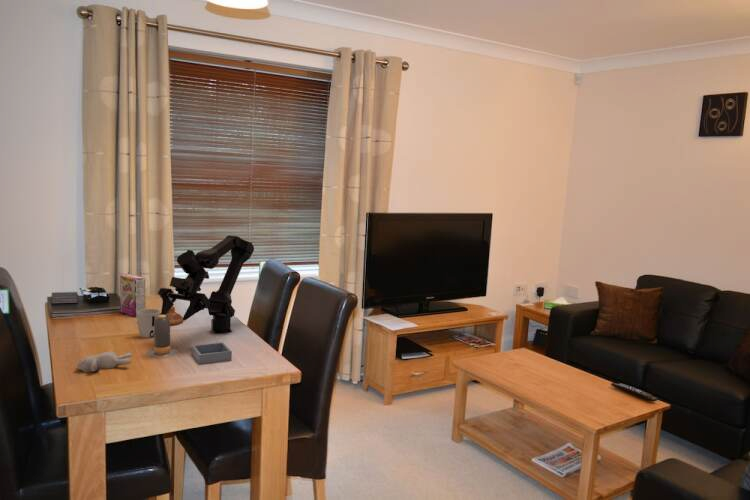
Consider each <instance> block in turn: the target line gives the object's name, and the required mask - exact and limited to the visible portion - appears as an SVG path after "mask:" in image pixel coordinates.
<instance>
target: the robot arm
mask: <svg viewBox="0 0 750 500" xmlns="http://www.w3.org/2000/svg"><path fill="white" fill-rule="evenodd" d="M254 251H255V246H254V244H253V243H252V242H251V241H248V240H246V239H243V238H241V237H240V236H238V235H230V234H229V235H227V236H226V237H225V238H224V239H222V240H221V241H219V242H218V243H216V244H214V246H212V247H211V248H209V249H204V250H201V251H198V252H197V253H196V254H195V252H194V251H193V250H191V249H187V251H185V252H183V253H181V254H180V255H178V256H177V259H176V262H177V264H178V265H179V267H180V268H181V269H182V271H183V272H184V273H185V274H187V276H186V277H185V278H182V277H176V276H172V277H171V280H170V282H169V287H173V288H174V291H175V292H174V291H173V289H171V288H168V287H160V289H159V290H158V292H157V294H158V296H159V297H160V298H161V299H162V305H161V310H160V313H161V315H166V313H167V312H168V311H169V310H170V309H171V307H172V306H174V305H175V303H176V301H177V300H181V301H186V302H187V301H188V302H189V306H188V308H187V309H186V311H185V312H184V315H183V316H182V317H183V320H184V321H183V322H185V321H187V320H188V319H189V318H191V317H192V316H194V315H195V314H197V313H199V312H201V311H203V310H205V309H207V311H208V315H209V316H212V319H211V322H210V325H211V326H210V327H211V328H210V329H211V330H212V331H213V333H214V334H223V333H231V332H232V329H231V321H232V320H231V318H233V317H234V316H235V312H236V309H235V308H234V307H233V306H232V304H233V301H232V295H231V294H232V292H233V290H234V287H235V284H236V282H237V279H238V278H239V276H240V274H241V273H240V272H241V270H242V267H243V266H244V263H246V262H247V261H249V260H250V259H251V257H252V255H253V253H254ZM227 253H230V254H231V260H230V262H229V265H228V267H227V269H226V272H225V274H224V277H223V279H222V281H221V283H220V285H219V288H218V289H217V290H216V291H212V292H211V293H210V296H209V297H208V296H207V295H206V294H205V293H201V290H202V288H201V286H202V284H203V282H204V280H206V279H207V280H209V279H210V275H209V271H206V269H207V270H213V269H215V267H216V266H217V265H218V264H219V262H220V258H222V257H223V256H225V255H226V254H227Z"/></svg>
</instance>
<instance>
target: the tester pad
mask: <svg viewBox="0 0 750 500" xmlns="http://www.w3.org/2000/svg"><path fill="white" fill-rule="evenodd" d="M178 353H179V352H178V350H177V349H175V348H170V353H169V354H167V355H155V354H154V349H151V350H148V351H147V352H146V353H145V355H146V356H148V357H149V358H155V359H163V358H164V359H165V358H170V357H174V356H177V354H178Z"/></svg>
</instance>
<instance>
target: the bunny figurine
mask: <svg viewBox="0 0 750 500" xmlns="http://www.w3.org/2000/svg"><path fill="white" fill-rule="evenodd" d="M132 357H133V353H132V352H126V353H123V354H120V355H117V354H116V353H115V351H113V350H109V351H104V352H101V353H98V354H96V355H87V356H85V357H84V358H83V359H82V360H79V361H78V363H77V370H80V371H82V372H84V373H91V372H96V371H99V370H100V369H114V368H115V367H117V365H128V364H131V359H130V358H132Z"/></svg>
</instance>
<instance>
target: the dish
mask: <svg viewBox="0 0 750 500" xmlns="http://www.w3.org/2000/svg"><path fill="white" fill-rule="evenodd" d="M232 352H233V351H232V349H230V348H229V347H228V346H227V344H225V342H223V341H222V342H214V343H213V342H212V343H204V344H194V345H191V355H192V357H193V358H194V359H195V361H196V362H197V364H198V365H205V364H211V363H212V364H213V363H221V362H227V361H232V359H233V358H232V356H233V354H232Z"/></svg>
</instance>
